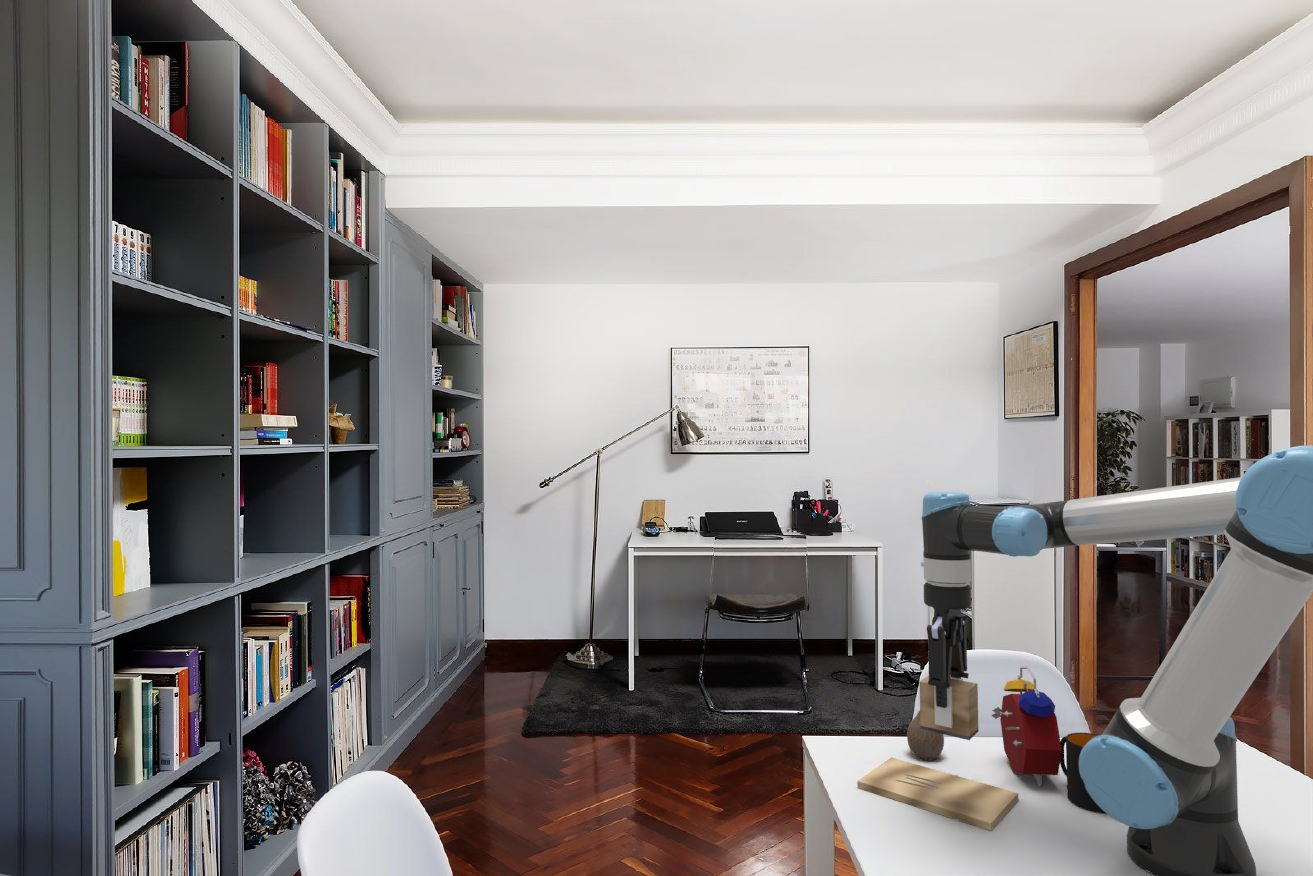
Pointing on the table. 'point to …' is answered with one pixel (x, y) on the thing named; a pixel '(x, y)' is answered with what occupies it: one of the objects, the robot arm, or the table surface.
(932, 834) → the table surface
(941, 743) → the vase
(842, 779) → the table surface
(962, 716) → the wooden block
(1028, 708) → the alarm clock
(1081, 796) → the mug
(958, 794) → the board
